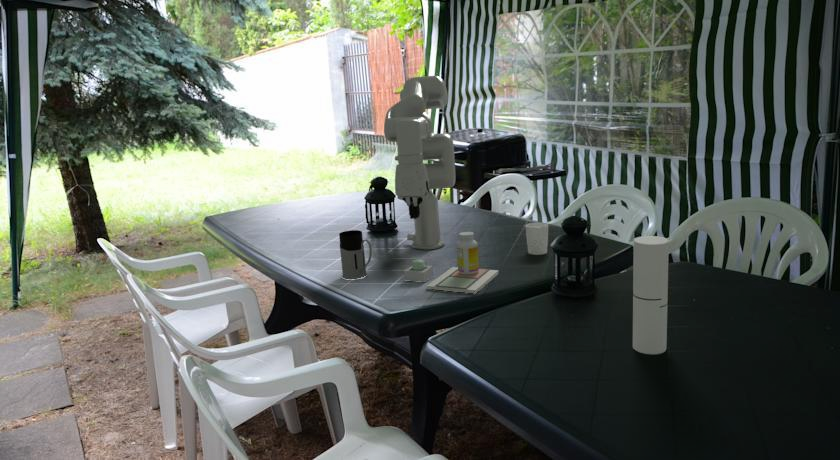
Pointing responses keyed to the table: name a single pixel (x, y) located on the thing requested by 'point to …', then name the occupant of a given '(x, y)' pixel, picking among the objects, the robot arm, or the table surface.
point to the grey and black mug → (353, 254)
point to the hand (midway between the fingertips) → (414, 217)
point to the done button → (418, 265)
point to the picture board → (463, 280)
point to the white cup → (537, 238)
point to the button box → (418, 274)
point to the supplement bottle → (467, 254)
